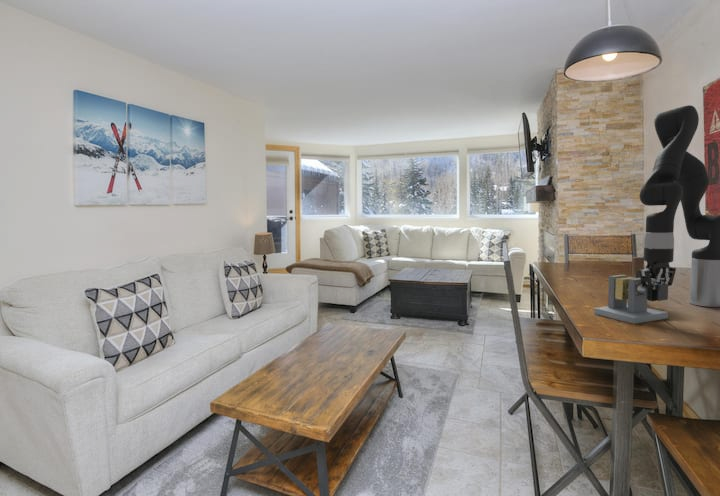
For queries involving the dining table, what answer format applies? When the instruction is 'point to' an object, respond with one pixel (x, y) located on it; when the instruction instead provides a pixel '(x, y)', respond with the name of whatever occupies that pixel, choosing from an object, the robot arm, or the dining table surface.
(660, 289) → the shaft
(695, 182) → the robot arm
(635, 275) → the wooden block
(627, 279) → the spacer
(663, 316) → the bracket
